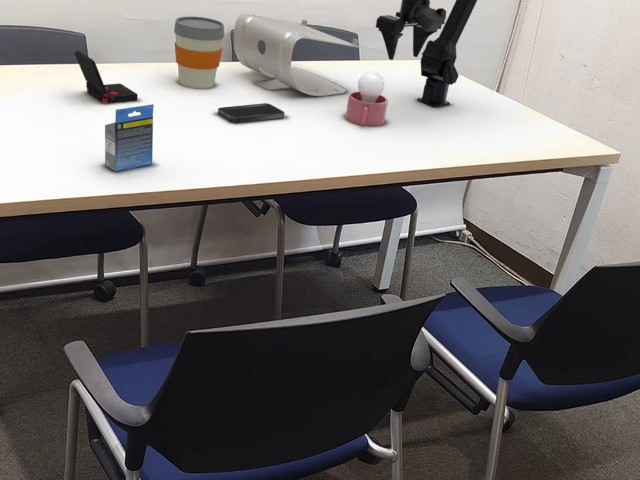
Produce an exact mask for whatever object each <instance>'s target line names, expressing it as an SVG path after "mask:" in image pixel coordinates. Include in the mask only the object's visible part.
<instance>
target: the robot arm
mask: <svg viewBox="0 0 640 480" xmlns="http://www.w3.org/2000/svg"><path fill="white" fill-rule="evenodd" d="M477 2H478V0H455V1H454V3H453V6H452V7H451V11H450V12H449V14H448V17H447V10H446V9H445V8H443V7H440V8H437V9H436V8H432V7H431V6H430V5H431V4H430V3H431V0H401V3H400V9H399V11H396V12H395V16H393V15H391V14H387V15H379V16H378V17H377V18H376V22H375V28H376V29H378V31H379V32H380V33H381V36H382V39H383V41H384V45H385V50H386V53H387V57H388V60H390V61H393V60H394V58H395V55H396V51H397V46H398V42H399V39H400V38H402V37H403V36H404V33H403V31H404V30H405V28H407V27H412V54H413V55H412V56H413V57H414V58H418V56H419V55H420V53H421V51H422V49H423V47H424V46H425V48H424V50H423V52H422V53H421V58H420V61H419V62H420V76H421V77H425V78H426V79H425V84H424V86H423V92H422V95H421V97H417V101H419V102H421V103H424V104H426V105H429V106H432V107H435V108H436V107H442V106H448V105H450V104H451V103H450V101H448V100H447V97H448V92H449V87H450V86H452V85H454V84H456V83H457V80H458V79H459V75H460V74H459V73H458V71H457V69H456V66H455V63H456V60H457V44H458V42H459V40H460V39H461V36H462V34H463V31H464V29H465V27H466V25H467V23H468V21H469V19H470V16H471V15H472V13H473V10H474V8H475V7H476V5H477ZM442 26H443V27H442ZM441 29H442V30H441ZM438 30H441V32H440V33H439V36H438V37H437V38H435V39H434V40H431V39H429V40H428V38H429V37H430V36H432V35H433V34H436V33H437V32H438ZM427 40H428V41H427ZM426 42H427V43H426ZM425 43H426V45H425Z"/></svg>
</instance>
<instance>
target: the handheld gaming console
mask: <svg viewBox="0 0 640 480" xmlns="http://www.w3.org/2000/svg"><path fill="white" fill-rule="evenodd" d="M74 56H75V59H76V61H77V63H78V66H79V68H80V71H81V73H82V75H83V77H84V81H85V83H86V84H85V85H86V92H87V93H88V95H90V96H91V97H92V98H94V99H96V100H97V101H98V102H100V103H103V104H116V103H117V104H118V103H127V102H128V103H129V102H137V101H138V93H137V92H135V91H134V90H132V89H130V88H129V87H127V86H125V85H124V84H122V83H108V84H104V81H103V78H102V76H101V74H100V72H99V71H100V70H99V69H98V65H97V64H96V62H95V60H94V59H93V58H91V57H89V56H88V55H86V54H84V53H82V52H81V51H79V50H76V51H74Z"/></svg>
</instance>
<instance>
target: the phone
mask: <svg viewBox="0 0 640 480" xmlns="http://www.w3.org/2000/svg"><path fill="white" fill-rule="evenodd" d="M217 115H218V116H221V117H223V118H224V119H225V120H227V121H229V122H231V123H233V124H238V123H239V124H240V123H249V122H257V121H258V122H259V121H266V120H276V119H283V118H285V111H284V110H282V109H280V108H278V107H277V106H275V105H273V104H272V103H271V104H270V103H268V102H267V103H265V102H264V103H255V104H254V103H253V104H245V105H244V104H243V105H234V106H223V107H218V108H217Z"/></svg>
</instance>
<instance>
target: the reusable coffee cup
mask: <svg viewBox="0 0 640 480" xmlns="http://www.w3.org/2000/svg"><path fill="white" fill-rule="evenodd" d="M173 28H174V29H173V30H174V31H173V32H174V34H175V42H174V53H175V54H174V56H175V63H176V64H177V69H178V71H177V73H178V83H179V84H180V85H181V86H184V87H188V88H191V89H200V90H201V89H202V90H203V89H210V88H213V87H214V86H215V81H216V76H217V71H218V68H219V67H220V64H221V58H222V53H223V47H222V44H223V40H224V38H225V24H224V23H223V22H222V21H219V20H217V19H214V18H209V17H203V16H180V17H177V18H176V19H175V22H174V27H173Z"/></svg>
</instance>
